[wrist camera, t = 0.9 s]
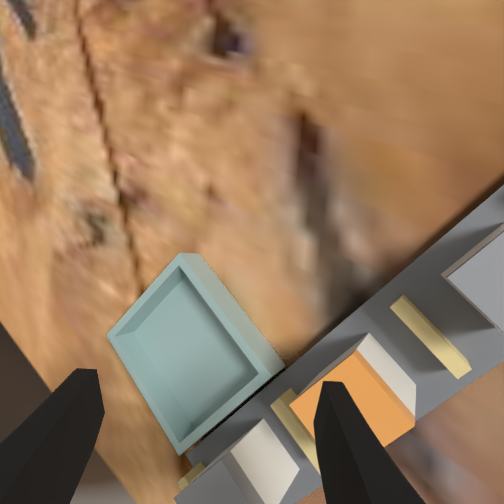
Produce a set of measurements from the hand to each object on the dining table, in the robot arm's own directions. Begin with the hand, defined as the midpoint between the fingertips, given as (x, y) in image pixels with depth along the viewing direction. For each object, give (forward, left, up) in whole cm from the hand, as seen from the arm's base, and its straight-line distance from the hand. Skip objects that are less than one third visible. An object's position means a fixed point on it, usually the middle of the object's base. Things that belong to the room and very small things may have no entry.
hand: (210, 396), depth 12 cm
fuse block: (-4, -1, -13) cm, 13 cm away
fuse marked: (-4, -1, -12) cm, 12 cm away
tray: (+5, +8, -13) cm, 16 cm away
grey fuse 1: (-4, +8, -12) cm, 15 cm away
